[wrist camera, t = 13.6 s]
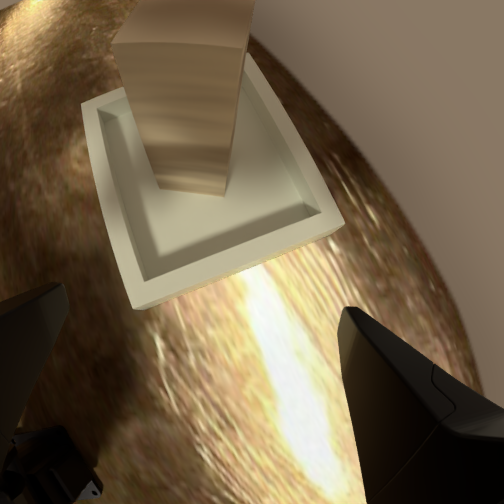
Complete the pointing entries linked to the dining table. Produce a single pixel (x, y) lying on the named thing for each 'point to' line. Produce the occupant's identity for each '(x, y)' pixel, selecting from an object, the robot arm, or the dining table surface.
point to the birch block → (185, 86)
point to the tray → (206, 198)
